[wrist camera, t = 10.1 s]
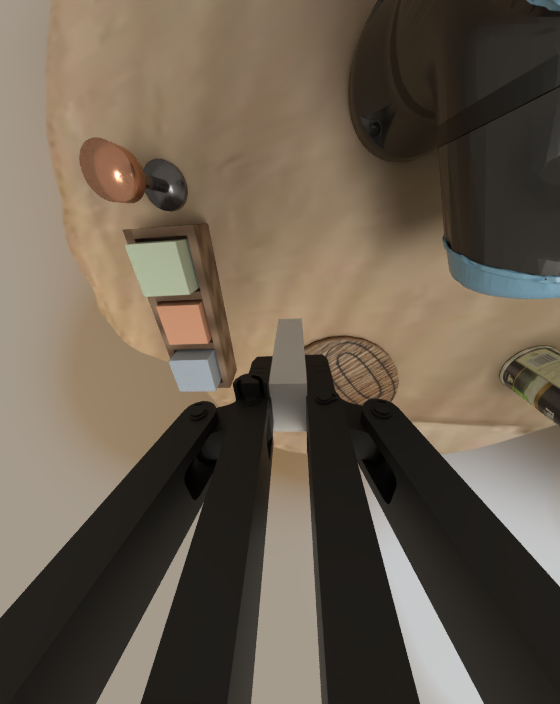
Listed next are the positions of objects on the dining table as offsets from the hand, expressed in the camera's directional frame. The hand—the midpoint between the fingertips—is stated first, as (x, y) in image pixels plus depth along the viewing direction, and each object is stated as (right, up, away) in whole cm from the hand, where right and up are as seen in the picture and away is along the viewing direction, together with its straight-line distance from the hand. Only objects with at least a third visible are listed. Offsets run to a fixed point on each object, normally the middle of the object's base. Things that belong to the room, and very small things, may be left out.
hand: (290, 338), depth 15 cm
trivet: (+12, -8, +36) cm, 39 cm away
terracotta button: (-16, +5, +25) cm, 30 cm away
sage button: (-17, +12, +19) cm, 28 cm away
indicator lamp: (-17, +23, +18) cm, 34 cm away
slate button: (-16, -3, +28) cm, 32 cm away
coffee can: (+50, -4, +30) cm, 58 cm away
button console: (-16, +7, +28) cm, 33 cm away
